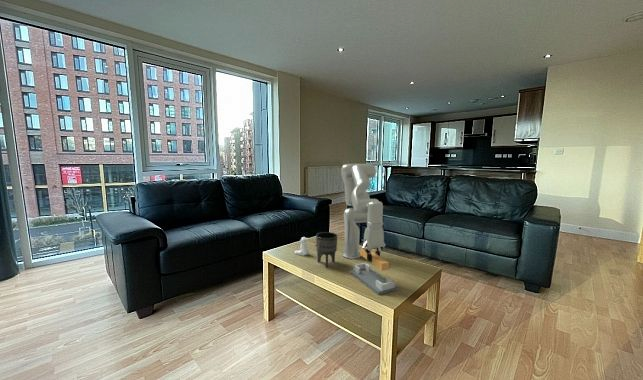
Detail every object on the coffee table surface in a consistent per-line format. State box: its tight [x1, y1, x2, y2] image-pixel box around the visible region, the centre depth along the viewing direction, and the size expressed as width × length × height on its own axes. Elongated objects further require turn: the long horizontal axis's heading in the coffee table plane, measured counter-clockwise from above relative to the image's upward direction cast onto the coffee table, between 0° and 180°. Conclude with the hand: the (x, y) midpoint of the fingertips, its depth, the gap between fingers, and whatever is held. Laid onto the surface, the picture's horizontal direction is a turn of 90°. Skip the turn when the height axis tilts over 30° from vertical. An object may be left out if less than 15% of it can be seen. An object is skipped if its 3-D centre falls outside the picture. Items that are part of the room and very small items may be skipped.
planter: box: [315, 231, 338, 268], centre depth 155 cm, size 13×13×18 cm
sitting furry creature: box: [294, 236, 310, 257], centre depth 170 cm, size 10×9×12 cm
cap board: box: [349, 262, 399, 296], centre depth 134 cm, size 25×12×4 cm, turn 25°
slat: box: [359, 247, 390, 272], centre depth 133 cm, size 22×4×4 cm, turn 19°
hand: (373, 259), depth 133 cm, fingers closed on slat, 4 cm apart
